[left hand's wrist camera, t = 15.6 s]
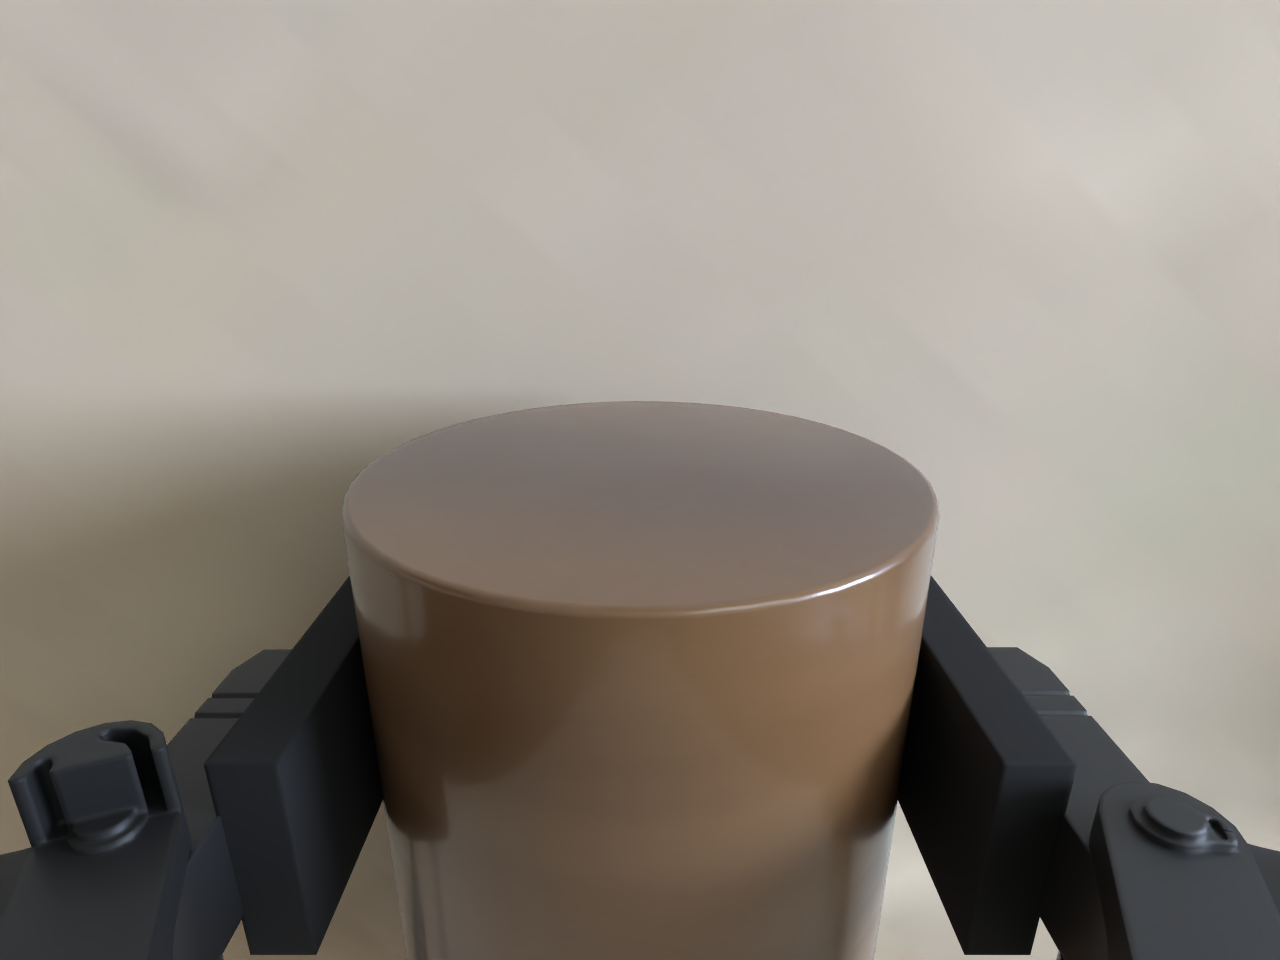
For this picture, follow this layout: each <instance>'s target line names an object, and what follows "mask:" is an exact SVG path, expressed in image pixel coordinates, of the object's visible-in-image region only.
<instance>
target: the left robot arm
mask: <svg viewBox="0 0 1280 960" xmlns="http://www.w3.org/2000/svg"><path fill="white" fill-rule="evenodd" d="M8 783H9V786H10V788H11V791H12V794H13V797H14V799H15V802H16V805H17V808H18V811H19V813H20V816H21V819H22V822H23V824H24V827H25V830H26V833H27V835H28V838H29V841H30V844H31V846H32V847H31V848H28V849H24V850H20V851H16V852H12V853H7V854H3V855H0V960H224V959H223V956H222V954H223V952H224V950H225V948H226V946H227V945H228V943H229V941H230V939H231V937H232V936H233V934H234V932H235V930H236V928H237V927H238V925H239V923H240V921H241V919H242V922H243V926H244V930H245V934H246V938H247V942H248V946H249V950H250V954H251V955H316V954H317V952H318V950H319V947H320V945H321V943H322V940H323V938H324V936H325V933H326V931H327V929H328V926H329V924H330V922H331V919H332V917H333V915H334V912H335V910H336V908H337V905H338V903H339V901H340V898H341V896H342V894H343V891H344V889H345V887H346V884H347V882H348V880H349V877H350V875H351V873H352V870H353V868H354V866H355V863H356V861H357V859H358V856H359V854H360V852H361V850H362V847H363V845H364V843H365V840H366V838H367V836H368V833H369V831H370V829H371V826H372V824H373V822H374V819H375V817H376V815H377V812H378V810H379V808H380V805H381V803H382V801H383V794H382V787H381V781H380V774H379V767H378V760H377V754H376V747H375V740H374V734H373V727H372V720H371V713H370V707H369V700H368V693H367V686H366V680H365V673H364V666H363V659H362V653H361V646H360V639H359V633H358V626H357V619H356V612H355V606H354V599H353V592H352V585H351V579H350V576H349V577H348V579H347V580H346V581H345V582H344V584H343V585H342V586H341V588H340V589H339V590H338V591H337V593H336V594H335V595H334V597H333V598H332V599H331V600H330V602H329V603H328V604H327V606H326V607H325V608H324V609H323V611H322V612H321V613H320V615H319V616H318V617H317V618H316V620H315V621H314V622H313V624H312V625H311V626H310V627H309V629H308V630H307V631H306V633H305V634H304V635H303V636H302V638H301V639H300V640H299V642H298V643H297V644H296V645H295V647H294V648H293V649H292V650H263V651H262V652H260V653H258V654H257V655H255V656H254V657H252V658H251V659H249V660H248V661H246V662H244V663H243V664H241V665H240V666H238V667H237V668H235V669H234V670H232V671H231V673H230V674H229V675H228V676H227V677H226V678H225V679H224V681H223V682H222V683H221V684H220V685H219V686H218V688H217V689H216V690H215V691H214V692H213V693H212V698H208V699H207V700H206V701H205V702H204V704H203V705H202V706H201V707H200V708H199V709H198V710H197V712H196V713H195V718H191V719H190V720H189V721H188V722H187V723H186V724H185V725H184V727H183V728H182V729H181V730H180V731H179V732H178V733H177V735H176V736H175V737H174V738H173V739H172V740H171V741H170V743H169V744H168V745H166V741H165V738H164V734H163V732H162V731H160V730H159V729H158V728H157V727H155V726H154V725H153V724H151V723H144V722H138V721H122V722H112V723H104V724H101V725H97V726H94V727H91V728H87V729H84V730H80V731H77V732H74V733H72V734H70V735H68V736H66V737H64V738H62V739H60V740H58V741H55V742H53V743H51V744H49V745H47V746H46V747H44V748H43V749H41V750H40V751H39V752H37V753H36V754H34V755H33V756H32V757H30V758H29V759H27V760H26V761H25V762H23V763H22V764H21V766H20V767H19V768H18V769H17V770H16V772H15V773H14V774H13V775H12V776H11V778H10V779H9V780H8ZM898 801H899V803H900V806H901V808H902V810H903V813H904V815H905V817H906V820H907V822H908V824H909V827H910V829H911V831H912V834H913V836H914V838H915V841H916V843H917V845H918V848H919V850H920V852H921V855H922V857H923V859H924V862H925V864H926V866H927V869H928V871H929V873H930V876H931V878H932V880H933V882H934V885H935V887H936V889H937V892H938V894H939V896H940V899H941V901H942V903H943V906H944V908H945V910H946V913H947V915H948V917H949V920H950V922H951V924H952V927H953V929H954V931H955V934H956V936H957V938H958V941H959V943H960V945H961V948H962V950H963V952H964V955H1030V954H1031V950H1032V946H1033V942H1034V938H1035V934H1036V930H1037V926H1038V922H1039V918H1040V917H1041V919H1042V921H1043V923H1044V925H1045V926H1046V928H1047V930H1048V932H1049V934H1050V935H1051V937H1052V939H1053V941H1054V943H1055V944H1056V946H1057V948H1058V950H1059V952H1058V956H1057V959H1056V960H1280V852H1279V851H1275V850H1270V849H1266V848H1261V847H1258V846H1254V845H1251V844H1247V842H1246V841H1245V840H1244V838H1243V837H1242V835H1241V834H1240V833H1239V831H1238V830H1237V828H1236V827H1235V826H1234V825H1233V824H1232V823H1230V822H1229V821H1228V820H1227V819H1226V818H1224V817H1223V816H1222V815H1221V814H1219V813H1218V812H1217V811H1216V810H1215V809H1213V808H1212V807H1210V806H1208V805H1206V804H1205V803H1203V802H1201V801H1199V800H1197V799H1195V798H1193V797H1192V796H1190V795H1188V794H1186V793H1183V792H1180V791H1177V790H1174V789H1171V788H1168V787H1165V786H1162V785H1159V784H1155V783H1149V781H1148V780H1147V779H1146V778H1145V777H1144V776H1143V775H1142V773H1141V772H1140V771H1139V770H1138V769H1137V768H1136V767H1135V765H1134V764H1133V763H1132V762H1131V761H1130V760H1129V759H1128V757H1127V756H1126V755H1125V754H1124V753H1123V752H1122V751H1121V749H1120V748H1119V747H1118V746H1117V745H1116V744H1115V743H1114V741H1113V740H1112V739H1111V738H1110V737H1109V736H1108V735H1107V733H1106V732H1105V731H1104V730H1103V729H1102V728H1101V727H1100V725H1099V724H1098V723H1097V722H1096V721H1095V720H1094V719H1093V718H1092V716H1087V711H1086V710H1085V708H1084V707H1083V706H1082V705H1081V704H1080V703H1079V702H1078V700H1077V699H1076V698H1075V697H1074V696H1070V694H1069V690H1068V689H1067V688H1066V687H1065V686H1064V684H1063V683H1062V682H1061V681H1060V680H1059V679H1058V678H1057V676H1056V675H1055V674H1054V673H1053V672H1052V671H1051V670H1050V668H1049V667H1047V666H1045V665H1044V664H1042V663H1041V662H1039V661H1038V660H1036V659H1034V658H1033V657H1031V656H1030V655H1028V654H1027V653H1025V652H1023V651H1022V650H1020V649H1019V648H1017V647H986V646H985V644H984V643H983V642H982V640H981V639H980V638H979V637H978V635H977V634H976V633H975V631H974V630H973V629H972V628H971V626H970V625H969V624H968V622H967V621H966V620H965V619H964V617H963V616H962V615H961V613H960V612H959V611H958V610H957V608H956V607H955V606H954V604H953V603H952V602H951V601H950V599H949V598H948V597H947V595H946V594H945V593H944V592H943V590H942V589H941V588H940V586H939V585H938V584H937V583H936V581H935V580H934V579H933V577H932V576H930V583H929V590H928V596H927V603H926V610H925V617H924V624H923V630H922V637H921V644H920V651H919V658H918V664H917V671H916V678H915V685H914V692H913V698H912V705H911V712H910V719H909V725H908V732H907V739H906V746H905V753H904V759H903V766H902V773H901V780H900V787H899V793H898Z"/></svg>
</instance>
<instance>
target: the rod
mask: <svg viewBox="0 0 1280 960" xmlns="http://www.w3.org/2000/svg"><path fill="white" fill-rule="evenodd" d="M341 518H342V525H343V531H344V538H345V545H346V552H347V558H348V565H349V572H350V579H351V585H352V592H353V599H354V606H355V612H356V619H357V626H358V633H359V639H360V646H361V653H362V659H363V666H364V673H365V680H366V686H367V693H368V700H369V707H370V713H371V720H372V727H373V734H374V740H375V747H376V754H377V760H378V767H379V774H380V781H381V787H382V794H383V801H384V808H385V814H386V821H387V828H388V835H389V841H390V848H391V855H392V862H393V868H394V875H395V882H396V888H397V895H398V902H399V909H400V915H401V922H402V929H403V936H404V942H405V949H406V956H407V960H874V957H875V950H876V943H877V936H878V929H879V923H880V916H881V909H882V902H883V895H884V889H885V882H886V875H887V868H888V861H889V855H890V848H891V841H892V834H893V827H894V821H895V814H896V807H897V800H898V793H899V787H900V780H901V773H902V766H903V759H904V753H905V746H906V739H907V732H908V725H909V719H910V712H911V705H912V698H913V692H914V685H915V678H916V671H917V664H918V658H919V651H920V644H921V637H922V630H923V624H924V617H925V610H926V603H927V596H928V590H929V583H930V576H931V569H932V562H933V556H934V549H935V542H936V535H937V528H938V522H939V509H938V501H937V498H936V495H935V493H934V491H933V489H932V487H931V485H930V483H929V482H928V480H927V479H926V478H925V477H924V476H923V474H922V473H921V472H920V471H919V470H918V469H917V468H915V467H914V466H913V465H912V464H910V463H909V462H908V461H907V460H905V459H904V458H902V457H901V456H899V455H897V454H896V453H894V452H892V451H891V450H889V449H887V448H885V447H883V446H881V445H879V444H877V443H875V442H872V441H870V440H868V439H866V438H863V437H860V436H858V435H855V434H852V433H850V432H847V431H844V430H841V429H838V428H835V427H831V426H828V425H825V424H822V423H818V422H814V421H810V420H806V419H802V418H798V417H793V416H788V415H783V414H778V413H773V412H767V411H760V410H754V409H747V408H739V407H731V406H722V405H711V404H698V403H681V402H646V401H635V402H600V403H583V404H571V405H559V406H551V407H542V408H534V409H528V410H521V411H515V412H509V413H504V414H499V415H494V416H489V417H484V418H480V419H476V420H472V421H468V422H463V423H460V424H456V425H453V426H450V427H447V428H443V429H440V430H437V431H434V432H432V433H429V434H426V435H424V436H421V437H418V438H416V439H413V440H411V441H409V442H407V443H404V444H402V445H400V446H398V447H396V448H394V449H392V450H390V451H389V452H387V453H385V454H384V455H382V456H380V457H379V458H377V459H376V460H374V461H373V462H372V463H371V464H369V465H368V466H367V467H366V468H364V469H363V470H362V471H361V472H360V473H359V474H358V475H357V477H356V478H355V479H354V480H353V481H352V483H351V484H350V486H349V488H348V490H347V493H346V495H345V497H344V500H343V505H342V516H341Z"/></svg>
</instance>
